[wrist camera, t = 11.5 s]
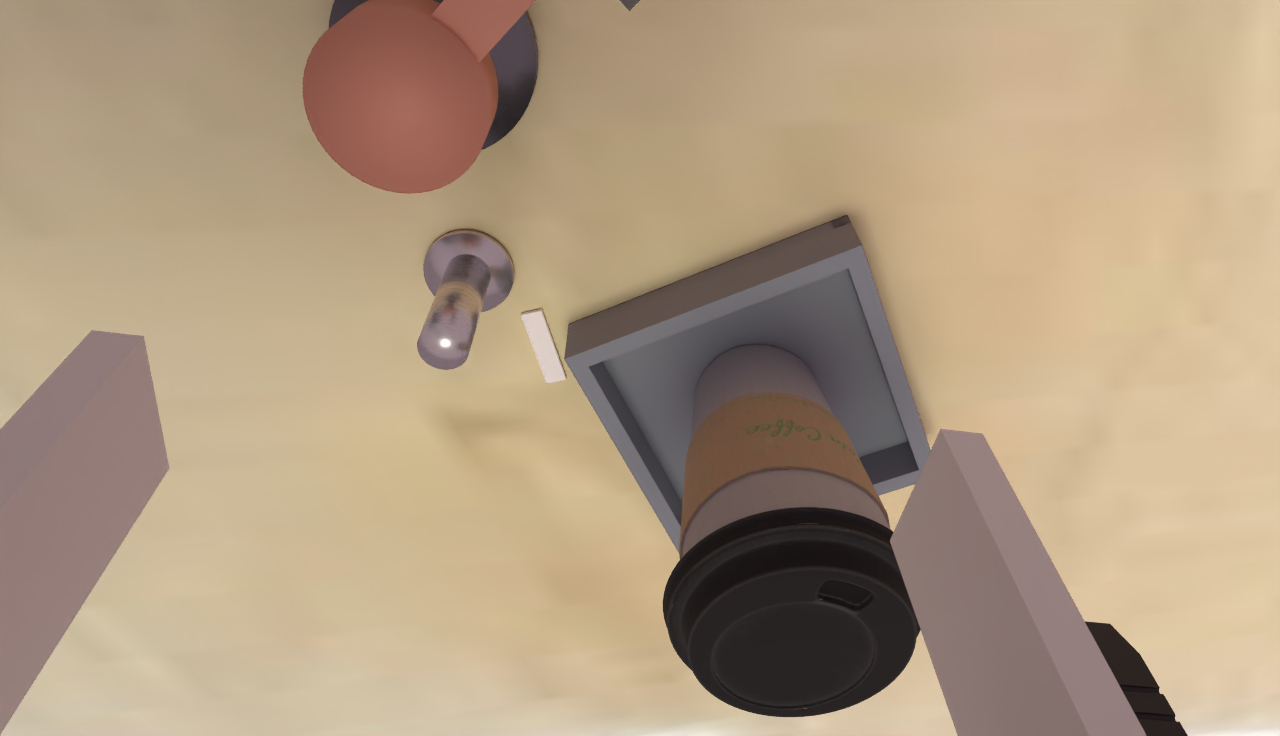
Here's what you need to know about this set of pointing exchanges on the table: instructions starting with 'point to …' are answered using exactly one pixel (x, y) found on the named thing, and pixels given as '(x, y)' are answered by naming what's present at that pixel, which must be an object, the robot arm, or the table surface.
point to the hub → (511, 64)
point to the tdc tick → (543, 345)
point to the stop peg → (461, 293)
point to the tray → (745, 315)
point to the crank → (408, 88)
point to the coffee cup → (782, 548)
